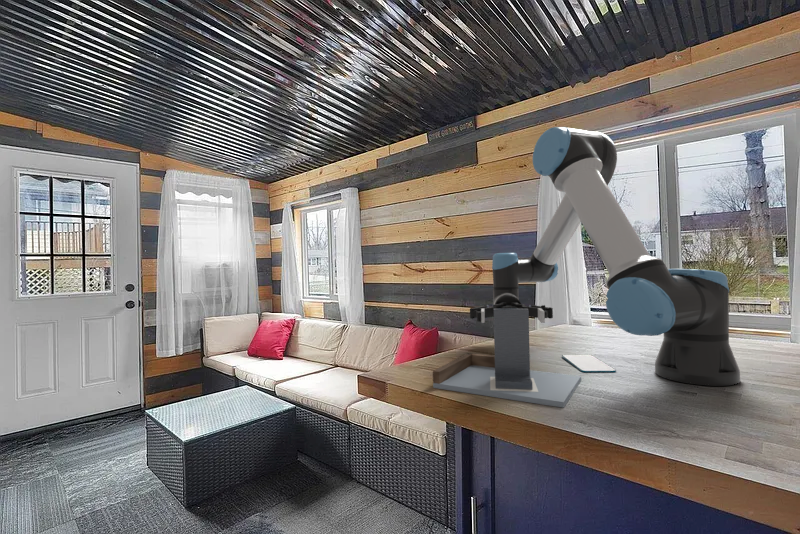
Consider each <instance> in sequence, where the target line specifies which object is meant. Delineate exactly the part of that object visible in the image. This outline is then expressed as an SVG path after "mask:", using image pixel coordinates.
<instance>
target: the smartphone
mask: <svg viewBox="0 0 800 534" xmlns="http://www.w3.org/2000/svg"><path fill="white" fill-rule="evenodd" d="M561 359H563V360H565V361H566V362H567V363H569V365H571V366H573V367H574V368H575V369H577V370H578V371H580V372H581V373H585V374H588V373H589V374H592V373H593V374H595V373H598V374H600V373H603V374H605V373H609V374H610V373H611V374H614V373H617V369H616V368H614V367H612V366H611V365H609V364H607V363H606V362H604V361H602V360H601V359H599V358H597V357H596V356H594V355H593V354H588V353H587V354H562V355H561Z"/></svg>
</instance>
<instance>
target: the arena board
mask: <svg viewBox="0 0 800 534" xmlns="http://www.w3.org/2000/svg"><path fill="white" fill-rule="evenodd" d="M530 377H531V380H532V390H522V389H496V387H495V368H492V367H484V366H475V365H471V366H469V367H468V368H466V369H464V370H463V371H461V372H459V373H457V374H456V375H454V376H452V377H451V378H449V379H447V380H445V381H444V382H442V383H440V384H437V383H433V382H432V388H433V389H439V390H447V391H453V392H458V393H459V392H460V393H465V394H472V395H478V396H486V397H491V398H492V397H493V398H499V399H505V400H512V401H518V402H526V403H529V404H530V403H532V404H538V405H544V406H550V407H556V408H557V407H558V408H562V409H563V408H565V406H566V405H567V403H568V402H569V400H570V399H571V397H572V396H573V394H574V392H575V391H576V389H577V388H578V386H579V385H580V383H581V381H582V376H581V375H576V374H569V373H568V374H567V373H559V372H549V371H540V370H532V369H530Z"/></svg>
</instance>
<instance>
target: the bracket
mask: <svg viewBox="0 0 800 534" xmlns="http://www.w3.org/2000/svg"><path fill="white" fill-rule="evenodd" d="M529 319H530V317H529V310H528V308H494V317H493V339H494V341H493V342H494V344H493V345H494V347H493V349H494V356H495V387H496V389H522V390H532V380H531V377H530V370H531V369H530V368H531V367H530V366H531V363H530V362H531V361H530V359H531V358H530V357H531V356H530V320H529Z"/></svg>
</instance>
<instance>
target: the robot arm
mask: <svg viewBox="0 0 800 534" xmlns="http://www.w3.org/2000/svg"><path fill="white" fill-rule="evenodd" d="M617 153H618V152H617V148H616V145H615V143H614V142H613V140H612V139H611V138H610V137H609V136H608V135H607V134H604V133H602V132H599V131H591V130H584V129H578V128H571V127H567V126H553V127H551V128H548V129H547V130H544V132H543V133H542V134H541V135H540V136H539V137H538V139H537V140H536V142H535V146H534V148H533V153H532V165H533V169H534V171H535V172H536V173H537V174H538V175H540V176H543V177H549V178H550V180H551V182H552V184H553V186H554V188H555V189H556V190H557V191H559V192H563V193H565V194H564V196H563V197H562V200H561V201H560V203H559V205H558V207H557V209H556V210H555V212H554V214H553V216H552V218H551V219H550V222H549V223H548V225H547V226H546V229H545V230H544V232H543V234H542V236H541V238H540V239H539V242H538V244H537V245H536V247H535V248H534V251H533V252H532V254H531V256H530V257H529V258H519V257H518V254H517V252H499V253H498V252H497V253H494V254H493V255H492V262H491V263H492V266H491V268H492V281H493V282H492V283H493V287H492V296H493V297H492V298H493V299H492V306H489V305H487V304H483V305H480V306H476V307H471V308H469V318H470V319H472V320H473V319H476V322H481V323H482V324H485V321H486V318H487V319H488V318H492V317H493V318H494V308H528V310H529V318H536V319H537V320H538V321H539V322H540V323H541V324H543V323H546V322H545V321H546V319H550V320H551V319H553V317H554V314H553V313H554V311H553V309H554V308H553V307H546V305H545V304H544V305H543V304H541V305H536V304H532V303H531V304H529V306H526V304H525V303H524V304H523V303H522V302H521V301H520V300H519V284H523V283H545V282H551V281H553V280H554V279H556V278H557V276H558V274H559V273H558V271H559V266H558V260H559V259H560V257H561V255H562V254H563V253H564V251H565V250H566V247H567V246H568V244H569V242H570V241H571V239H572V237H573V235H574V234H575V232H576V231H577V229H578V227H579V225H580V224H582V226H583V227H584V230H585V231H586V234H587V236H588V237H589V239H590V240H591V242H592V245H593V246H594V248H595V250H596V251H597V253H598V255H599V257H600V259H601V261H602V263H603V264H604V266H605V268H606V271H607V272H608V277H607V280H606V281H605V285H606V287H607V288H608V289H607V292H606V297H605V298H607V300H606V301H605V306H606V307H605V308H606V311H607V313H608V315H609V317H610V319H611V320H612V322H613V323H614V324H615V325H616V326H617V327H618V328H620V329H621V330H622V331H624V332H626V333H628V334H629V333H630V334H631V335H635V336H648V337H649V336H650V337H652V336H653V337H654V336H655V337H656V336H660V335H663V339H662V343H661V345H660V347H659V350H658V354H657V355H656V356H657V357H656V359H655V363H654V372H655V374H656V375H657V376H660V377H661V378H664V379H667V380H670V381H674V382H679V383H685V384H691V385H696V386H710V387H711V386H712V387H717V386H718V387H726V386H734V384H735V385H737V383H738V384H739V383H741V370H740V368H739V366H738V365H739V364H738V363H737V360H736V358H735V355H734V353H733V350H732V348H731V346H730V337H729V336H730V334H729V332H730V331H729V330H730V328H729V327H730V318H729V316H730V315H729V308H730V307H729V306H730V305H729V303H730V302H729V301H730V300H729V299H730V298H729V297H730V296H729V293H730V287H729V283H728V281H729V280H728V277H727V275H726V274H725V273H723V272H721V271H717V270H710V269H709V270H708V269H694V268H668V267H667V266H666V264H665V263H664V261H663V259H661V258H658V257H654V256H651V255H650V254H649V252H648V250H647V248H646V247H645V245H644V243H643V241H642V240H641V239H640V236H639V235H638V233H637V232H636V230H635V229H634V227H633V225H632V223H631V222H630V220H629V219H628V217H627V216H626V214H625V212H624V210H623V208H622V207H621V206H620V203H619V202H618V200H617V198H616V197H615V196H614V194H613V192H612V190H611V189H610V188H609V184H610V182H611V181H612V179H613V176H614V173H615V170H616V167H617V162H618V154H617Z"/></svg>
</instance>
